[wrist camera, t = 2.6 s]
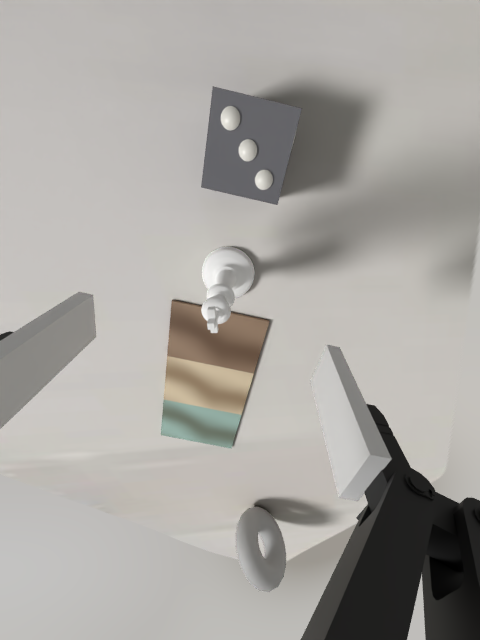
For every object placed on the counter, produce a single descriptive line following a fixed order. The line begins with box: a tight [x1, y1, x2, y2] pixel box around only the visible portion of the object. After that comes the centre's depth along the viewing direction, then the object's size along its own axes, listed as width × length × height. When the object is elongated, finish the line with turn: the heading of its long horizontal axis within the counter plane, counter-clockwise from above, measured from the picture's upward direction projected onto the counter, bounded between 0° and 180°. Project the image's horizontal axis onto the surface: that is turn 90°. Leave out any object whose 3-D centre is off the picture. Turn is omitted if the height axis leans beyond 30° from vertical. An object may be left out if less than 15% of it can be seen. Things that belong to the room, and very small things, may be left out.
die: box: [201, 87, 302, 205], centre depth 18 cm, size 5×5×5 cm
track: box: [161, 300, 269, 448], centre depth 31 cm, size 21×10×1 cm, turn 168°
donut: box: [236, 507, 286, 592], centre depth 40 cm, size 10×4×10 cm, turn 43°
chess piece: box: [201, 247, 255, 333], centre depth 20 cm, size 5×5×10 cm
